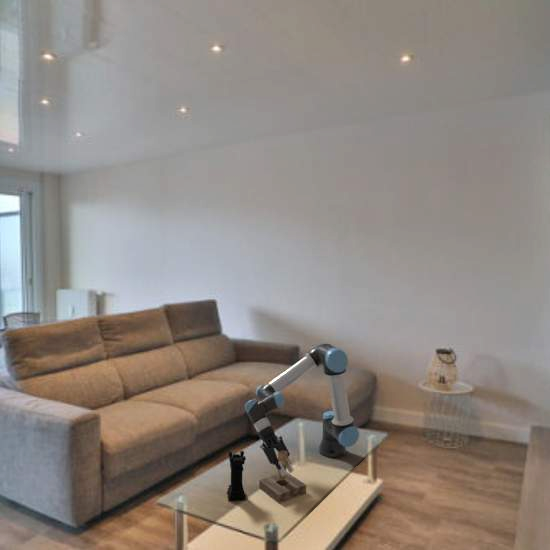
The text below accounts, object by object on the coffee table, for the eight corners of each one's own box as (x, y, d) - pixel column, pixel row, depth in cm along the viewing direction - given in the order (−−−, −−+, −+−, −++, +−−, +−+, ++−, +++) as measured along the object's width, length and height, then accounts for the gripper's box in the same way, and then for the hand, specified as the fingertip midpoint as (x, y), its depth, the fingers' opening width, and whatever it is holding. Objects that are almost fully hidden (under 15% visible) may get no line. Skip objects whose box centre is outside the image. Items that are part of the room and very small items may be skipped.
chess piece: (228, 501, 218) (229, 459, 217) (226, 492, 226) (227, 451, 225) (245, 500, 220) (246, 458, 218) (243, 491, 228) (244, 450, 226)
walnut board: (285, 479, 240) (285, 471, 240) (306, 493, 227) (306, 484, 227) (259, 488, 230) (259, 480, 230) (279, 503, 218) (279, 494, 217)
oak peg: (282, 475, 231) (283, 449, 230) (288, 479, 228) (289, 453, 227) (275, 478, 229) (276, 451, 228) (281, 482, 225) (281, 455, 224)
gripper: (272, 428, 244) (296, 471, 234) (247, 437, 231) (271, 483, 221) (280, 421, 240) (304, 464, 230) (255, 430, 227) (279, 476, 217)
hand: (288, 473), depth 225 cm, fingers closed on oak peg, 4 cm apart
